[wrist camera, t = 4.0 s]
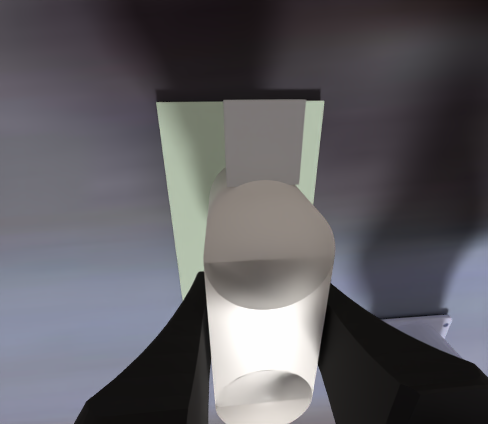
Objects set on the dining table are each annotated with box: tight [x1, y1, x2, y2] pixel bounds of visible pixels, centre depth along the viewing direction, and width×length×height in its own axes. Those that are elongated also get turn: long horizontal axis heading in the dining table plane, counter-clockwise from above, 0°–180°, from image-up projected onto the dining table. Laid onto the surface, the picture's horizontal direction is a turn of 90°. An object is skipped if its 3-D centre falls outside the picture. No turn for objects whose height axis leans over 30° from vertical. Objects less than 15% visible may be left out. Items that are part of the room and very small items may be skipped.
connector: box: [203, 99, 335, 424], centre depth 11 cm, size 13×4×5 cm, turn 0°
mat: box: [156, 101, 324, 300], centre depth 19 cm, size 16×10×1 cm, turn 0°
